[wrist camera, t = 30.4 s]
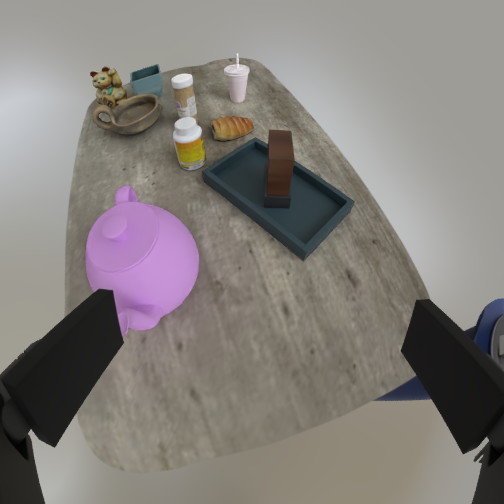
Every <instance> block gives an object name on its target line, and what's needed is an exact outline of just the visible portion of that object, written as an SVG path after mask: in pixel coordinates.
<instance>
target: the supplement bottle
mask: <svg viewBox="0 0 504 504" xmlns="http://www.w3.org/2000/svg"><path fill="white" fill-rule="evenodd" d="M173 140H174V144H175V148H176V152H177V156H178V160H179V163H180V166H181V167H182V168H183V169H185V170H196V169H198V168H200V167H202V166H203V165H204V164H205V162H206V154H205V148H204V142H203V135H202V130H201V128H200V127H199V126H198V125H197V124H196V120H195V119H194V118H192V117H184V118H181V119H179V120H178V121H176V123H175V131H174V132H173Z"/></svg>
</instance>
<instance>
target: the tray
mask: <svg viewBox="0 0 504 504" xmlns="http://www.w3.org/2000/svg"><path fill="white" fill-rule="evenodd" d="M267 155H268V144H266V143H265V142H263V141H261V140H259V139H258V138H256V137H255V138H253V139H252V140H250V141H248V142H247V143H245V144H243V145H242V146H240V147H239V148H237V149H235V150H234V151H232V152H231V153H229V154H228V155H226V156H225V157H223V158H222V159H220V160H218V161H217V162H215V163H214V164H212V165H211V166H209V167H208V168H207V169H205V170H204V171H202V173H203V178H204V182H205V183H207V184H208V185H209V186H211V187H212V188H213V189H214V190H216V191H217V192H218V193H220V194H221V195H222V196H223V197H225V198H226V199H227V200H228V201H230V202H231V203H232V204H234V205H235V206H236V207H237V208H239V209H240V210H241V211H242V212H244V213H245V214H246V215H247V216H249V217H250V218H251V219H253V220H254V221H255V222H256V223H258V224H259V225H260V226H261V227H263V228H264V229H265V230H266V231H268V232H269V233H270V234H271V235H272V236H274V237H275V238H276V239H277V240H279V241H280V242H281V243H282V244H284V245H285V246H286V247H287V248H288V249H290V250H291V251H292V252H293V253H295V254H296V255H297V256H298V257H299V258H301V259H302V260H303V261H304V260H305V259H306V258H307V257H308V256H309V255H310V254H311V253H312V252H313V251H314V250H315V249H316V248H317V246H318V245H319V244H320V243H321V242H322V241H323V240H324V239H325V238H326V237H327V236H328V235H329V234H330V233H331V232H332V231H333V230H334V228H335V227H336V226H337V225H338V224H339V223H340V222H341V221H342V220H343V219H344V218H345V217H346V215H347V214H348V213H349V212H350V211H351V209H352V207H353V204H354V201H353V200H352V199H350V198H349V197H347V196H346V195H345V194H343V193H342V192H340V191H339V190H338V189H336V188H335V187H333V186H332V185H330V184H329V183H327V182H326V181H325V180H323V179H322V178H320V177H319V176H317V175H316V174H314V173H313V172H311V171H310V170H308V169H307V168H305V167H303V166H302V165H300V164H299V163H297V162H296V161H294V166H293V173H292V179H291V203H290V208H289V209H286V208H264V168H265V163H267Z"/></svg>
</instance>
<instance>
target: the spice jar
mask: <svg viewBox="0 0 504 504" xmlns="http://www.w3.org/2000/svg"><path fill="white" fill-rule="evenodd" d="M171 82H172V87H173V89H174V93H175V98H176V105H177V110H178V115H179V119H181V118H184V117H192V118H194V119H195V120H196V124H198V119H197V110H196V104H195V97H194V92H193V84H192V83H193V79H192V76H191V75H190V74H180V75H177V76H175V77H173V78H172V80H171Z"/></svg>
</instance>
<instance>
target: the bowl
mask: <svg viewBox="0 0 504 504" xmlns="http://www.w3.org/2000/svg"><path fill="white" fill-rule="evenodd" d="M161 111H162V106H161V105H160V104H159V103H158V97H157V96H156V95H153V94H144V95H136V96H134V97H131V98H129V99H127V100H125V101H123V102H121V103H120V104H119V105H118V106H117V107H115V109H114V110H113V111H112V110H111V109H110V108H109V107H108V106H106V105H100V106H98V107H97V108H96V109H95V110H94V112H93V116H92V118H93V122H94V123H95V124H96V125H97V126H98V127H99V128H102V129H105V130H112V131H115V132H117V133H120V134H127V135H130V134H136V133H139V132H142V131H143V130H145V129H146V128H148V127H149V126H151V125H152V124H153V123H154V122H155V121H156V120H157V119H158V117H159V116H160V114H161ZM100 113H106V114H107V115H109V117H110V119H111V121H110V122H108V123H107V122H104V121H102V120H101V119H100V118H99V116H98V115H99V114H100Z"/></svg>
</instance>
